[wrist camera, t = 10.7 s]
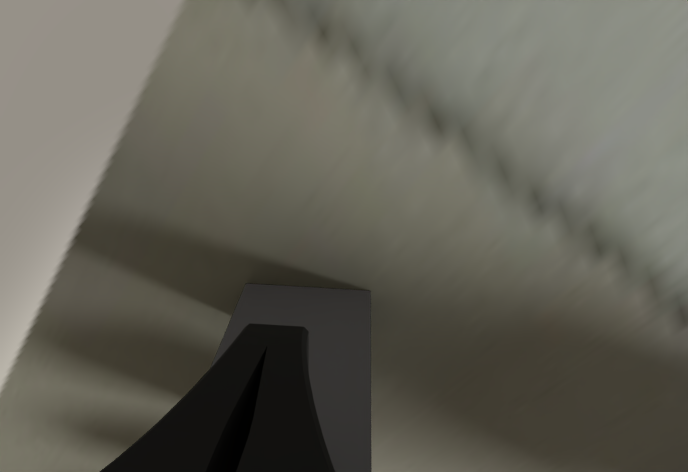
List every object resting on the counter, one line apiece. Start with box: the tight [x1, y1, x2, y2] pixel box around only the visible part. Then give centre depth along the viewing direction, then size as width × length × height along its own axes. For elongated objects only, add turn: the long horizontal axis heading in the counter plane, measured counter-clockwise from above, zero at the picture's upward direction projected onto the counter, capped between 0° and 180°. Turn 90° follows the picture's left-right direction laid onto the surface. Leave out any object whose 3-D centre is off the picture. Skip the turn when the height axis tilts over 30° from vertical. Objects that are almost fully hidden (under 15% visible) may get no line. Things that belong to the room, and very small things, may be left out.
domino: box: [211, 283, 371, 472], centre depth 16 cm, size 2×5×9 cm, turn 87°
